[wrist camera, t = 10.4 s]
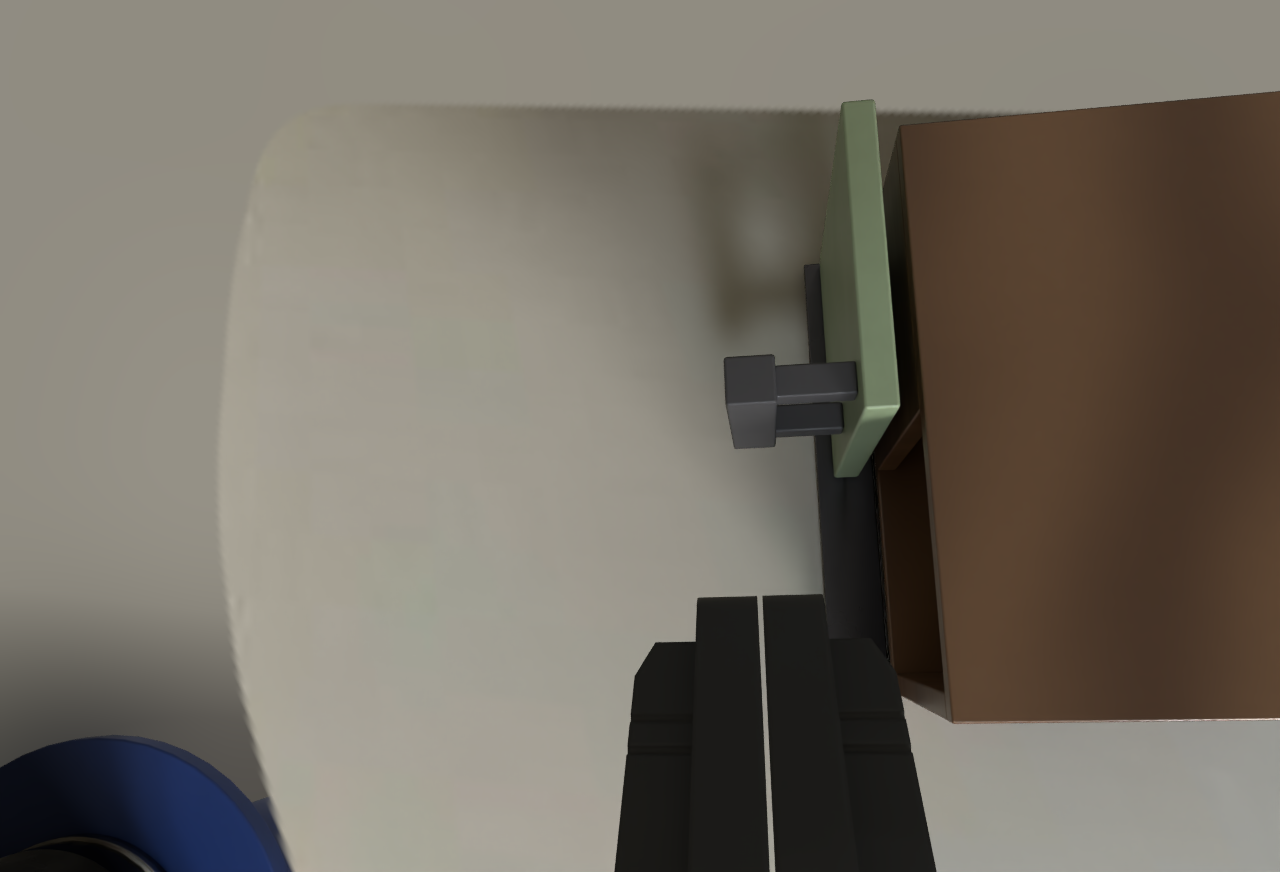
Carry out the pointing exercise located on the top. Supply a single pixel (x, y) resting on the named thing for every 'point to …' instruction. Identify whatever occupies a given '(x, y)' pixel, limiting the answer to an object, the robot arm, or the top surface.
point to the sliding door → (834, 324)
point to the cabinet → (1074, 419)
